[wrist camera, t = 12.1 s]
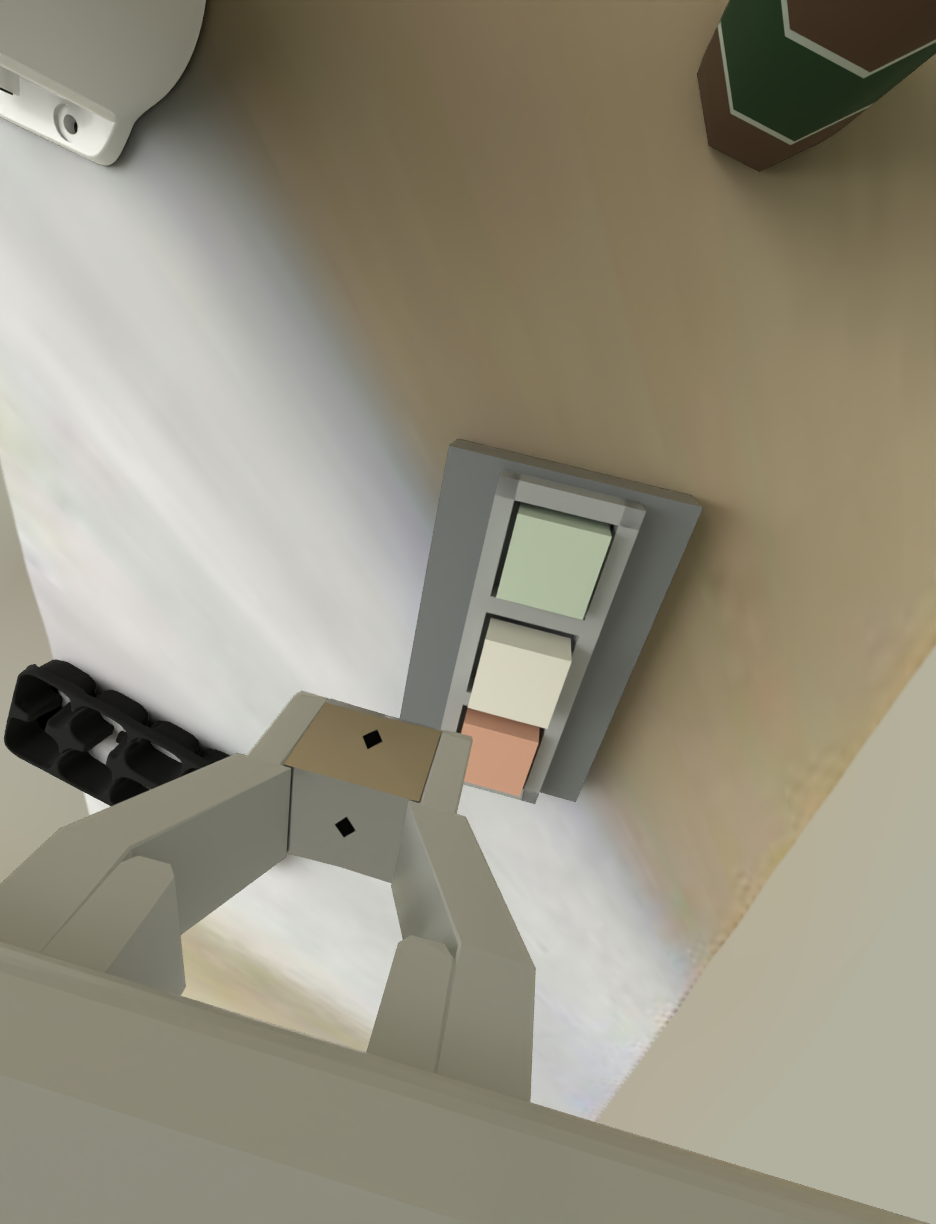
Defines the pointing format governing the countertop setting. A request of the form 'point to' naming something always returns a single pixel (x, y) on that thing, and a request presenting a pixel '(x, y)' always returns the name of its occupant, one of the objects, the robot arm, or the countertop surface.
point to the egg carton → (95, 735)
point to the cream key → (520, 673)
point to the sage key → (553, 560)
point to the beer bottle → (805, 70)
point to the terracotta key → (499, 751)
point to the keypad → (466, 601)
